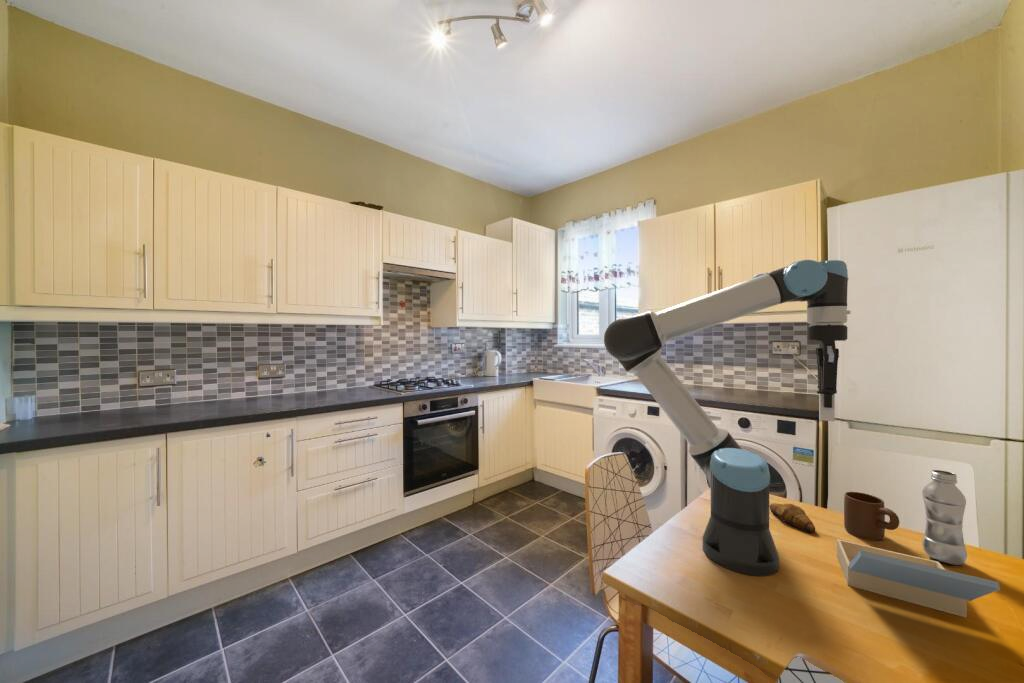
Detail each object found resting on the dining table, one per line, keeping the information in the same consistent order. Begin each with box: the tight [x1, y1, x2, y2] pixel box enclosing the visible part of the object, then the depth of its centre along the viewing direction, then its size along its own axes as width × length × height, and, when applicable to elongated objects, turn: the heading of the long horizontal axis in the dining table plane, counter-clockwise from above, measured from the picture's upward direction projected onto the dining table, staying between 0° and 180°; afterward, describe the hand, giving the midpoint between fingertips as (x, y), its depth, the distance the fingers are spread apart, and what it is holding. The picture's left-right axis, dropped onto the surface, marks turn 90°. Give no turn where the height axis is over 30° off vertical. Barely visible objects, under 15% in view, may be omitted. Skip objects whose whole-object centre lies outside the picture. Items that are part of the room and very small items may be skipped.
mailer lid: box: [849, 550, 1001, 602], centre depth 66 cm, size 16×12×1 cm
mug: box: [843, 491, 900, 542], centre depth 92 cm, size 12×8×9 cm, turn 2°
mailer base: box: [836, 538, 968, 619], centre depth 75 cm, size 16×12×4 cm
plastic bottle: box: [921, 469, 968, 566], centre depth 83 cm, size 6×7×20 cm
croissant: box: [769, 503, 816, 533], centre depth 101 cm, size 14×7×5 cm, turn 6°
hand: (826, 420), depth 90 cm, fingers closed
